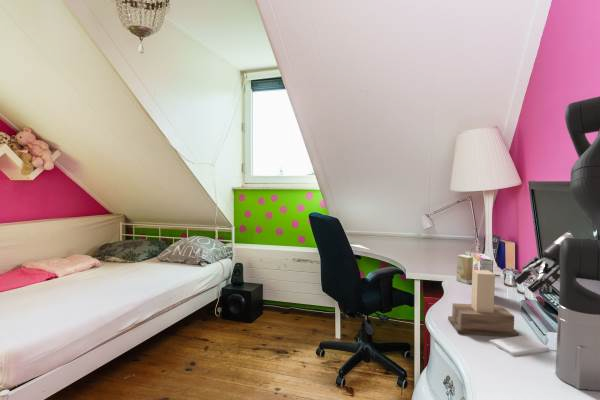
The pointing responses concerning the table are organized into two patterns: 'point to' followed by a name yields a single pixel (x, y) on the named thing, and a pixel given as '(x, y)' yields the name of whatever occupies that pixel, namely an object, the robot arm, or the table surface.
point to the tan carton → (483, 291)
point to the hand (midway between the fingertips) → (523, 286)
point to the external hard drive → (519, 345)
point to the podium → (482, 321)
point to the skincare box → (464, 268)
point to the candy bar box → (482, 262)
